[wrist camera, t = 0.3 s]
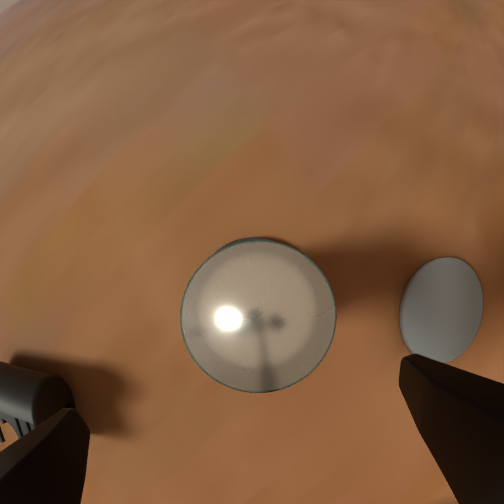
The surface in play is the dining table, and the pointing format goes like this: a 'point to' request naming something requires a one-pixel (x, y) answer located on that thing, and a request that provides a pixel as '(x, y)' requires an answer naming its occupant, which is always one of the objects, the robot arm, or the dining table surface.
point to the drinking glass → (258, 316)
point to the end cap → (30, 397)
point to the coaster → (441, 309)
